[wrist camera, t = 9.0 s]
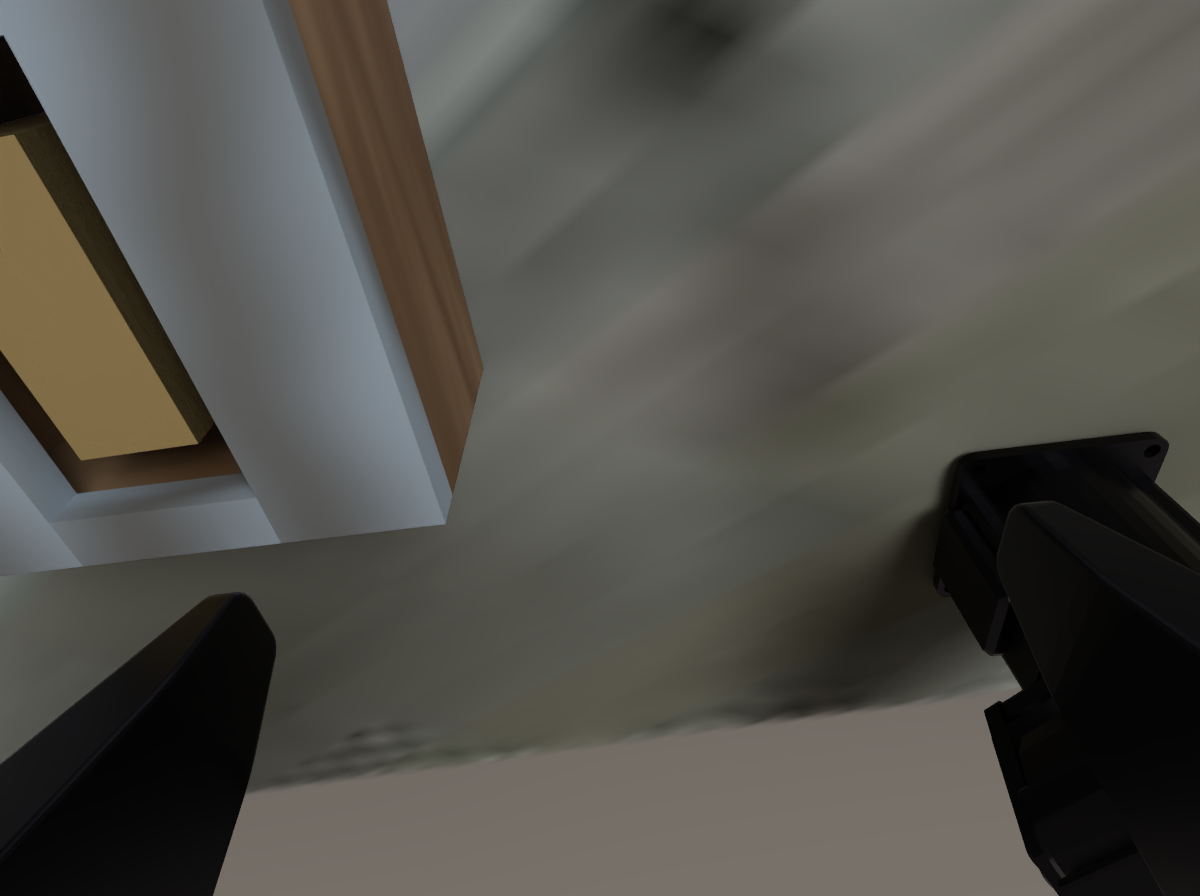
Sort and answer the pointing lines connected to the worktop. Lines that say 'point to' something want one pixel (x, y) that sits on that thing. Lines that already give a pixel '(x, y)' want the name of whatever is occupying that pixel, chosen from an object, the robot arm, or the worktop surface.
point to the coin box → (250, 279)
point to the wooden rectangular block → (82, 311)
